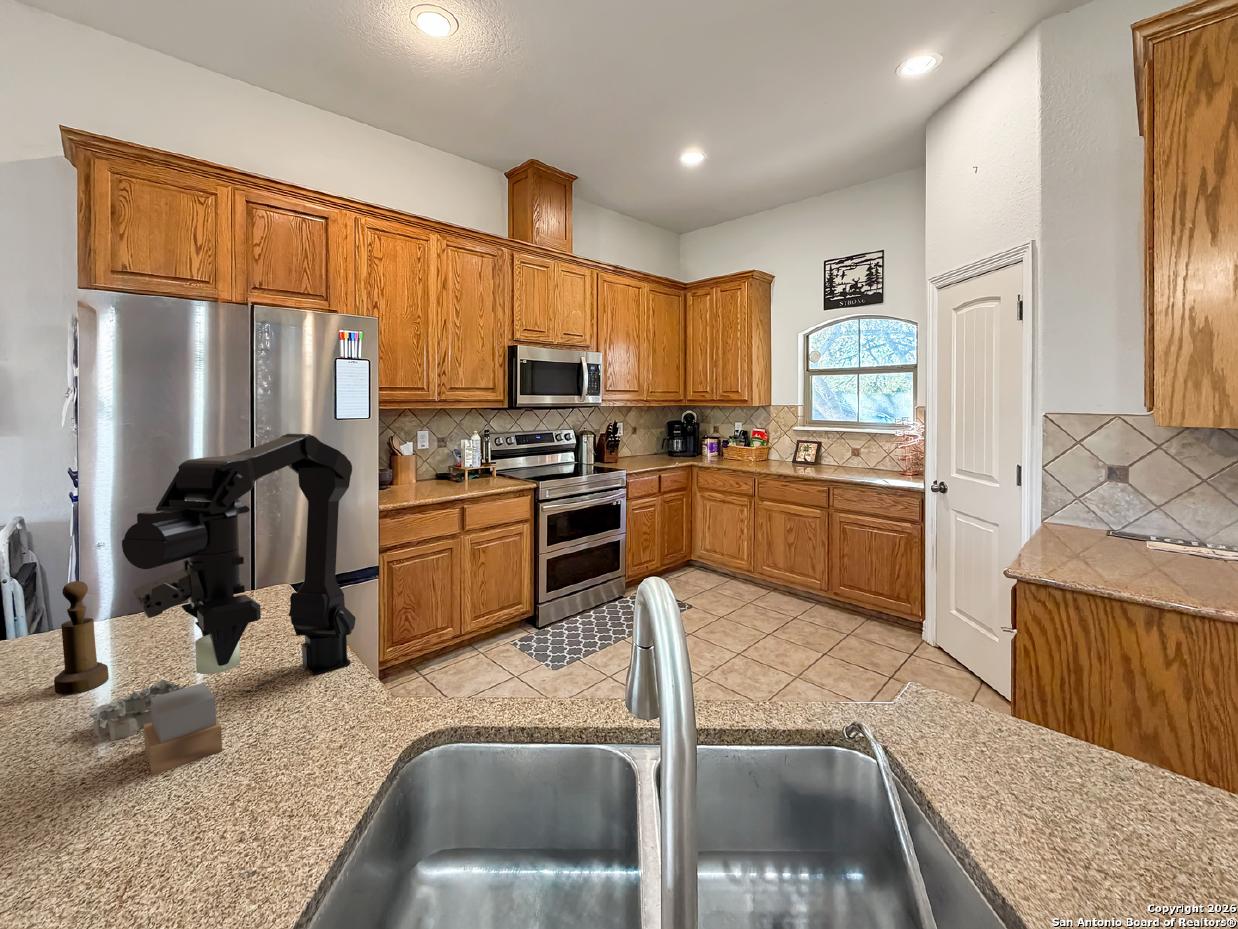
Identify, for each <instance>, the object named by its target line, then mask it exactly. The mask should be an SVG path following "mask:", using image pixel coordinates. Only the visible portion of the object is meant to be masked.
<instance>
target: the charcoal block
mask: <svg viewBox="0 0 1238 929" xmlns="http://www.w3.org/2000/svg"><path fill="white" fill-rule="evenodd" d="M150 700H151V718H152V727H153V729H154V731H155V733H156V735H157V737H158V739H159V741H160V743H163V742H166V741H169V740H172V739H175V738H178V737H181V736H184V735H187V734H190V733H193V732H196V731H199V730H202V729H205V728H208V727H211V726H214V725H216V717H217V714H216V713H217V712H216V711H217V710H216V709H217V708H216V697H215V695H214V694H213V693H212V691H211V690H210V689H209V687H208V686H207V684H206V683H205V682H201V683H198V684H195V685H192V686H188V687H185V688H183V689H180V690H176V691H173V692H169V693H166V694H162V695H159V696H155V697H152V698H150Z"/></svg>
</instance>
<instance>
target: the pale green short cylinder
mask: <svg viewBox="0 0 1238 929" xmlns="http://www.w3.org/2000/svg"><path fill="white" fill-rule="evenodd" d="M240 645H241V644H240V640H239V642H238V644H237V646H236V648H235V650H234V652H233V654H232V656H231V658H230V660H229V663H228V664H226V665H222V666H219V665H218V664H217V660H216V657H215V653H214V649H213V645H212V641H211V638H210V635H206V636H204V637H203V636H201V637H199V638H198V639H196V640H195V642H194V647H195V649H194V650H195V669H196V670H195V671H196V673H197V674H201V675H215V674H219V673H223V672H227V671H230V670H233V669H234V668H235V669H236V667H238V666H239V665H240V664H241V650H240V649H241V648H240V647H241V646H240Z"/></svg>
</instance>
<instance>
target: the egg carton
mask: <svg viewBox="0 0 1238 929" xmlns="http://www.w3.org/2000/svg"><path fill="white" fill-rule="evenodd" d="M183 688H186V687H185V686H180V684H176V683H175V682H173V683H171V682H170V681H168V680H166V679H164V678H162V679H160V680H159V681H158V682H157V683H155V684H153V685H151V686H150V687H149V688H148V687H146V688H143V689H142V690H141V691H140V692H139V691H134V692H132V693H131V694H129V695H127V696H125V697H122V698H120V699H118V700H117V701H114V702H111V703H105V704H101V705H99V706H97V707H96V708H95V709H94V710H93V711H92V712H91V713H90V714H89V715H88V717H87V718H88V719H89V720H91V719H92V721H93V731H94V732H93V733H94V735H96V736H98V737H100V736H101V735H105V734H109V739H110V740H112V741H116V740H119V739H123V738H130V737H133V736H135V735H137V734H138V730H140V729H142V728H144V725H145V724H148V723H152V718H151V700H150V698H152V697H155V696H159V695H162V694H166V693H169V692H173V691H176V690H180V689H183ZM129 736H130V737H129Z"/></svg>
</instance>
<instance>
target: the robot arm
mask: <svg viewBox="0 0 1238 929" xmlns="http://www.w3.org/2000/svg"><path fill="white" fill-rule="evenodd" d="M285 467H288V468H289V469H291V470H292V471H293V472H294V473H295V474H297V478H298V486H299V489H300V490H301V491H302V494H303V496H304V498H306V500H307V519H306V539H305V540H306V541H305V542H306V543H305V558H304V559H305V560H304V561H305V563H304V578H303V580H304V581H303V583H302V584H301V585H300V587H299V589H298V590H297V591H296V592H292V593H291V595H290V597H289V601H290V603H289V604H290V606H289V607H290V608H289V613H288V616H289V617H290V622H291V625H292V626H293V629H294V632H295V635H296V636H297V637H300V636H304V642H303V643H301V656H302V657H301V658H302V659H301V660H302V663H301V664H302V666H303V667H304V669H307V670H308V672H310V673H311V674H312V675H314V676H315V675H318V674H322V673H325V672H328V671H332V670H335V669H339V668H342V667H344V666H345V667H346V666H348V665H351V660H350V659H349V658H348V644H347V642H348V639H347V636H349V635H351V634H352V632H353V630H354V629H355V626H356V616H355V615H353V613H352V612H351V611H350V610H349V609H348V608H347V607H346V606H345V594H344V592H343V591H344V590H342V589H341V587H340V585H339V583H338V581H337V580H336V572H337V571H336V568H337V549H338V548H337V547H338V527H339V526H338V525H339V507H340V506H339V504H340V501H341V499H342V497H343V496H344V495H345V494H346V492H347V491H348V489H349V488H350V481H351V476H352V473H353V466H352V463H351V461H350V460H349V459H348V457H347V456H346V454H343V453H342V452H341V451H340V450H338V449H336V448H334V447H333V446H330V445H328V444H326V443H324V442H322V441H321V440H320V439H318V438H317V437H316V436H315V435H312V434H309V433H286V434H284V435H281V436H280V437H279V438H276V439H273V440H270V441H268V442H264V443H262V444H260V445H257V446H254V447H250V448H249V449H246V450H243V451H240V452H238V453H234V454H229V455H220V456H206V457H205V456H204V457H199V458H192V459H186V460H185V461H184V462H181V464H179V465H178V468H177V469H178V471H177V472H176V473H175V475H174V477H173V479H172V481H171V482H170V483H169V485H168V487H167V489H166V491H165V492H164V494H163V496H162V497H161V499H160V500H159V502H158V504H157V506H156V507H155V511H142V512H138V513H137V514H136V519H137V520H136V521H137V522H136V523H135V524H133V525H131V526H130V527H129V528H128V529H127V530H126V531H125V532H126V533H125V534H124V538H123V539H122V540H121V549H122V552H123V555H124V557H125V559H126V560H127V562H129V563H130V564H131V565H132V566H134V567H136V568H138V569H142V570H151V569H154V568H158V567H162V566H165V565H169V564H172V563H175V562H178V561H182V568H181V569H179V570H177V571H175V572H172V573H168V574H166V575H164V576H162V577H159V578H157V579H154V580H153V581H150V582H148V583H145V584H143V585H141V586H138V587H136V588H135V589H133V591H132V594H133V596H134V597H135V599H136V601H137V602H138V604H139V605H140V607H141V609H142V611H143V613H144V614H145V616H146V617H147V618H148V619H152V618H155V617H157V616H160V615H161V614H162V613H163V612H165V611H166V610H168V609H171V608H173V607H175V606H177V605H180V604H182V603H184V604H182V605H181V606H180V607H181V608H182V610H183V611H184V612H185V613H187V614H189V615H191V616H192V617H193V618H196V620H197V621H195V622H194V624H195V625H196V626H197V627H198V629H199V630H200V632H201V635H202V637H204V636H206V635H210V638H211V641H212V645H213V649H214V653H215V657H216V660H217V664H218V665H219V666H222V665H226V664H228V663H229V660H230V658H231V656H232V654H233V652H234V650H235V648H236V646H237V644H238V642H239V641H240V640H241V638H242V636H243V634H244V632H245V631H246V629H247V627H248V625H249V623H254V622H257V621H259V620H261V618H262V617H261V615H262V614H261V605H260V604H259V603H258V602H257V601H256V600H254V599H253V598H252V597H250V596H248V595H247V594H244V593H245V590H246V588H245V585H244V584H243V583H242V582H241V568H240V567H241V565H243V564H244V562H245V561H244V560H245V559H244V556H243V554H240V537H239V536H240V534H239V515H242V514H246V513H249V512H250V507H249V506H248V505H246V504H245V503H243V502H241V501H240V500H239V499H242V497H243V496H245V495H246V494H248V493H249V492H250V491H252V489H253V488H254V486H255V483H256V481H258V480H259V479H261V478H263V477H266V476H268V475H270V474H273V473H274V472H277V471H279V470H282V469H284V468H285ZM238 594H240V595H238ZM185 601H188V603H186V604H185Z"/></svg>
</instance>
